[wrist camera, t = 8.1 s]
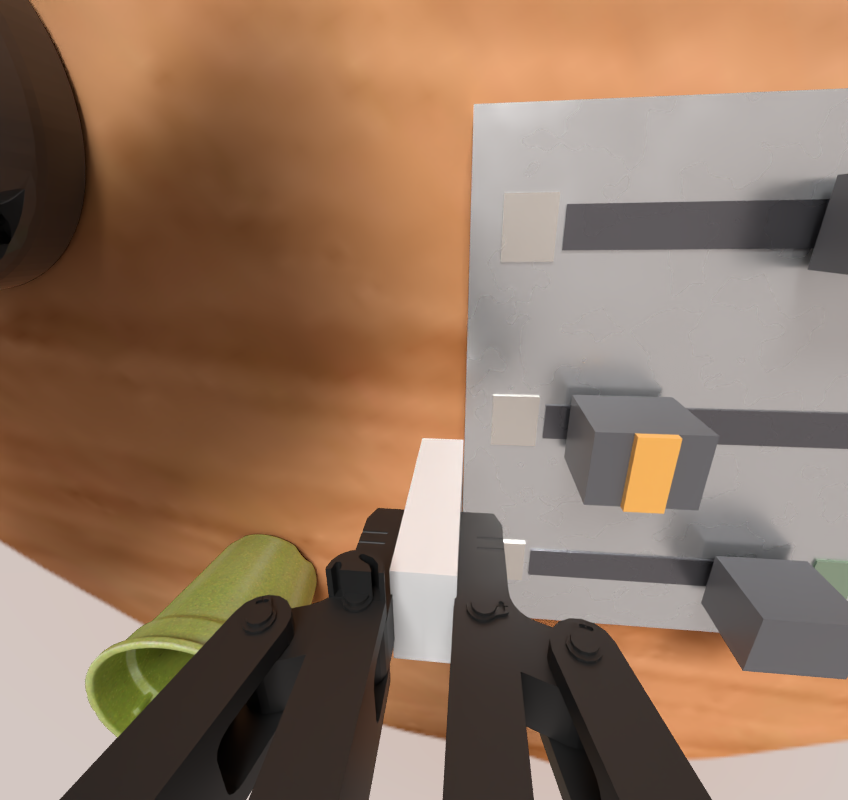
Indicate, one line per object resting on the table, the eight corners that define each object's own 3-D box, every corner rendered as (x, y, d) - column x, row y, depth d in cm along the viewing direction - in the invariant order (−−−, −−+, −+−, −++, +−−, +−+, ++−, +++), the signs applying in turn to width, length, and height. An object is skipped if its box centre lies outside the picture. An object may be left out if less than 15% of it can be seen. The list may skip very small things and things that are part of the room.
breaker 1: (564, 457, 19) (585, 509, 15) (572, 394, 18) (597, 435, 14) (657, 461, 18) (702, 515, 15) (672, 397, 17) (724, 440, 14)
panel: (460, 584, 25) (460, 614, 23) (473, 118, 16) (474, 103, 14) (818, 609, 23) (850, 644, 21) (1058, 95, 14) (1151, 74, 12)
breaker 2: (700, 602, 21) (742, 670, 18) (716, 555, 20) (763, 619, 17) (787, 608, 21) (846, 679, 17) (807, 561, 19) (874, 627, 16)
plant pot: (340, 635, 28) (289, 796, 20) (205, 611, 29) (103, 759, 21) (347, 524, 25) (288, 667, 17) (193, 498, 25) (63, 625, 17)
